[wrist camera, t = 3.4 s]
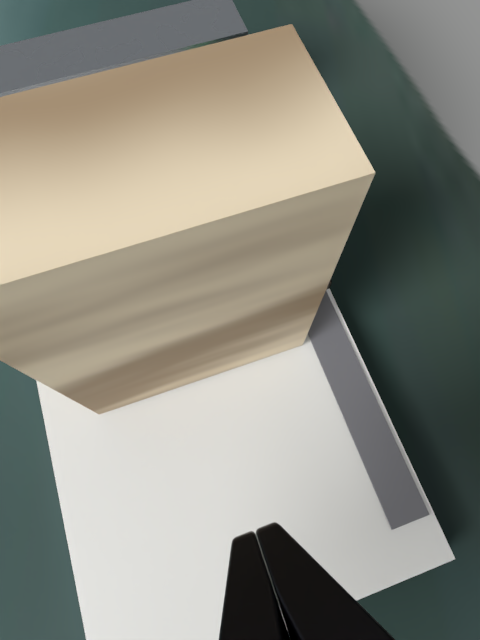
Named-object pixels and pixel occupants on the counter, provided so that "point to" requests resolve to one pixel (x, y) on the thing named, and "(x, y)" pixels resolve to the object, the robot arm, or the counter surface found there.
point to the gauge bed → (236, 486)
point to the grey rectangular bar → (116, 43)
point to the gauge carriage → (171, 217)
